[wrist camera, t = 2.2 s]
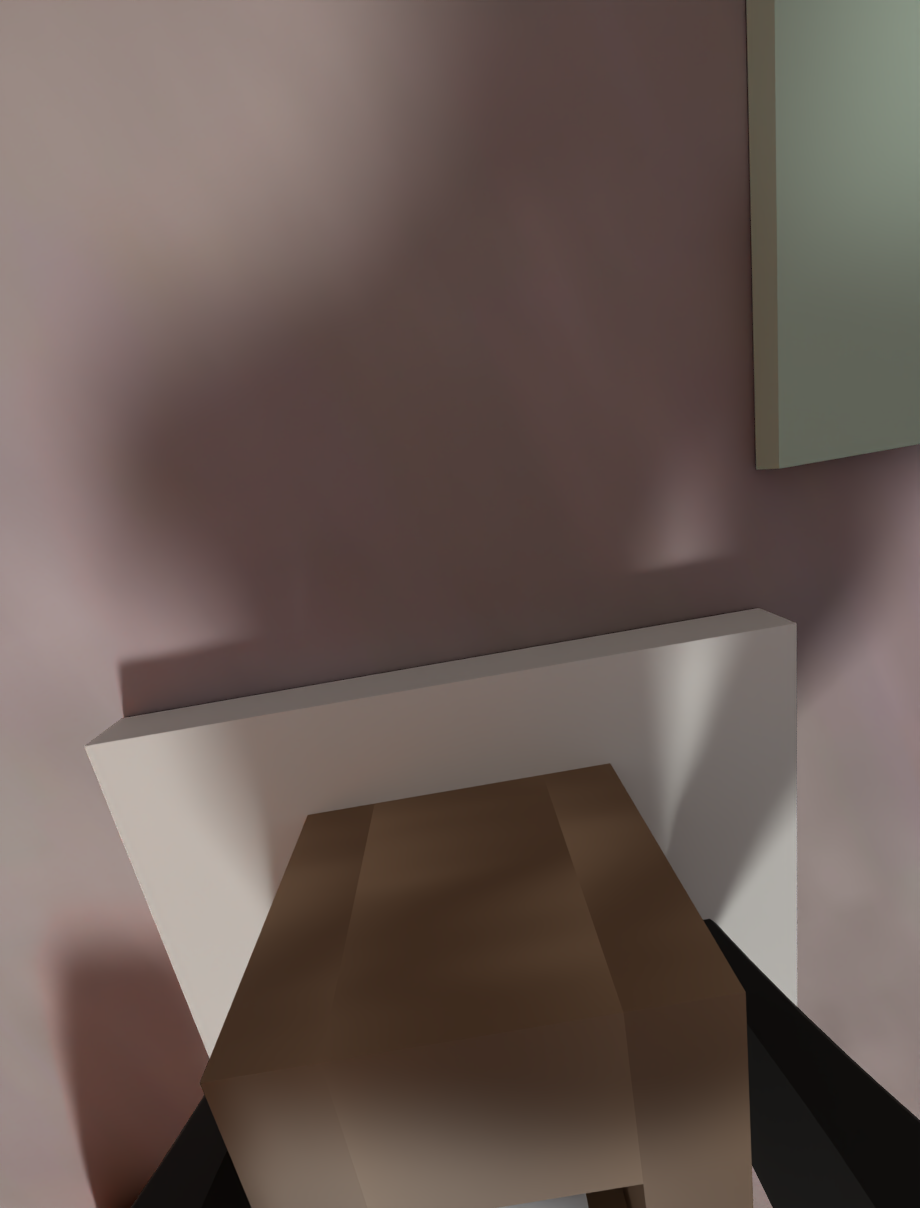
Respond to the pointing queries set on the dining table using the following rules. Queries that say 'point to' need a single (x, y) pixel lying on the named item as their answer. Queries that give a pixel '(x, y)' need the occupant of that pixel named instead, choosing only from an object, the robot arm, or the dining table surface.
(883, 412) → the mat
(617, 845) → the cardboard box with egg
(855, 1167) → the robot arm
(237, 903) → the stand
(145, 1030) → the dining table surface
